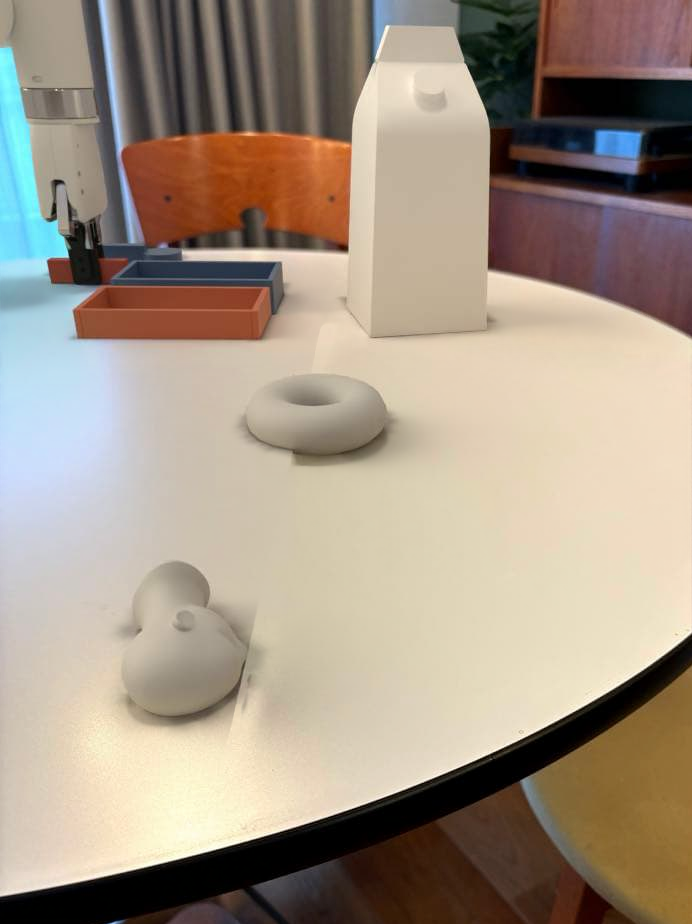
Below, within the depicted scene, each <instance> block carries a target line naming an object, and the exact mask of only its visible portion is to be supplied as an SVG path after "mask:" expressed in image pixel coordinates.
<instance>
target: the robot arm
mask: <svg viewBox="0 0 692 924" xmlns="http://www.w3.org/2000/svg"><path fill="white" fill-rule="evenodd" d="M6 48H10V49H11V51H12V52H11V53H12V57H13V61H14V67H15V72H16V77H17V82H18V87H19V92H20V97H21V103H22V108H23V112H24V113H23V114H24V117H25V118H24V119H25V123H26V124H29V138H30V139H29V141H30V151H31V161H32V168H33V174H34V181H35V182H34V183H35V189H36V195H37V196H36V197H37V202H38V208H39V212H40V217H41V219H42V220H43V221H45V222H46V223H53V222H55V221H57V232H58V235H60V236H61V237H63V238H64V243H65V248H66V250H67V255H68V258H69V261H70V266H71V271H72V277H73V282H74V283H73V284H74V285H88V286H89V285H91V286H95V285H96V286H97V285H101V284H103V283H102V277H101V271H100V265H99V259H98V258H105V255H104V249H103V244H102V243H103V233H102V228H101V219H102V214H103V213H104V212H105V211H106V210H107V208H108V194H107V186H106V180H105V174H104V169H103V163H102V159H101V153H100V149H99V144H98V139H97V135H96V131H95V127H94V124H98V123H101V121H100V116H99V109H98V104H97V103H98V102H97V96H96V90H95V85H94V84H95V83H94V77H93V70H92V63H91V59H90V52H89V45H88V39H87V33H86V25H85V19H84V13H83V7H82V0H0V49H6Z"/></svg>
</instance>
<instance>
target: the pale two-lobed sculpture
mask: <svg viewBox="0 0 692 924" xmlns="http://www.w3.org/2000/svg"><path fill="white" fill-rule="evenodd" d="M210 598H211V588H210V583H209V581H208V580H207V578H206V577H205V575H204V574H203V573H202V572H201V571H200V570H199V569H198V568H196V567H195V566H194V565H192V564H191V563H187V562H186V561H182V560H178V559H169V560H165V561H163V562H162V563H159V564H158V565H156V566H155V567H153V568H152V569H150V571H149V572H148V573H147V574H146V575H145V576H144V578H143V579H142V580H141V582H140V583H139V584H138V586H137V588H136V590H135V592H134V594H133V598H132V603H131V608H132V614H133V615H132V616H133V618H134V621H135V624H136V626H137V627H138V629H139V630H140V632H139V633H137V634H136V636H134V638H133V639H132V641H131V642H130V643H129V644H128V646H127V648H126V649H125V651H124V654H123V656H122V659H121V665H120V666H121V667H120V674H121V680H122V683H123V686H124V689H125V690H126V692H127V694H128V696H129V697H130V698H131V700H132V701H133V702H134V703H135V704H136V705H137V706H139V707H140V708H142V709H143V710H145V711H147V712H149V713H151V714H154V715H157V716H161V717H179V716H186V715H191V714H194V713H199V712H201V711H203V710H206V709H208V708H209V707H212V706H213V705H215V704H217V703H219V702H220V701H222V700H223V699H224V698H226V696H228V695H229V694H230V693H231V692H232V691H233V690H234V689H235V687H236V686H237V684H238V682H239V680H240V678H241V674H242V667H243V665H244V663H245V661H246V660H247V658H248V649H247V647H246V645H245V644H244V643H243V642H242V641H241V640H240V639H239V638H238V637H237V635H236V633H235V632H234V631H233V629H232V628H231V627H230V625H229V623H228V621H227V620H226V619H225V618H224V617H223V616H221V615H220V614H218V613H217V612H216V611H214V610H212V609H210V608H207V605H208V604H209V602H210Z"/></svg>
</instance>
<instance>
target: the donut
mask: <svg viewBox="0 0 692 924" xmlns="http://www.w3.org/2000/svg"><path fill="white" fill-rule="evenodd" d="M387 414H388V409H387V405H386V403H385V400H384V398H383V397H382V395H381V394H380V392H379V391H378V390H377V389H376V388H375V387H373V386H372V385H371V384H368V383H367V382H365V381H363V380H360V379H358V378H355V377H350V376H347V375H341V374H334V373H303V374H295V375H290V376H285V377H281V378H279V379H275V380H273V381H270V382H267V383H266V384H264V385H262V386H261V387H259V388H257V390H256V391H255V392H254V393H253V394H252V396H251V397H250V399H249V400H248V402H247V404H246V406H245V418H246V422H247V427H248V430H249V431H250V433H251V434H253V435H254V436H255V438H257V439H258V440H259V441H260V442H261V441H262V442H264V443H266V444H269V445H272V446H274V447H278V448H283V449H289V450H292V455H299V456H328V455H336V454H341V453H344V452H349V451H354V450H356V449H358V448H361V447H363V446H365V445H368V444H369V443H370V442H371V441H373V439H374V438H376V437H377V436H378V435H379V434H380V433H381V432H382V430H383V428H384V426H385V423H386V419H387Z"/></svg>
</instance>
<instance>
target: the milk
mask: <svg viewBox="0 0 692 924" xmlns="http://www.w3.org/2000/svg"><path fill="white" fill-rule="evenodd" d="M351 126H352V128H351V154H350V156H351V157H350V158H351V160H350V190H349V193H350V194H349V221H348V222H349V224H348V250H347V251H348V253H347V283H346V284H347V285H346V286H347V288H346V308H347V310H348V311H349V312H350V314H351V315H352V316H353V317H354V319H355V320H356V321H357V322H358V324H359V325H360V326H361V328H362V329H363V330H364V331H365V333H366V334H367V335H368V337H369V338H384V337H399V336H413V335H414V336H416V335H429V334H431V335H433V334H447V333H448V334H449V333H461V332H476V331H477V332H478V331H487V327H488V324H487V323H488V278H489V277H488V276H489V275H488V274H489V271H488V270H489V267H488V266H489V216H490V215H489V214H490V167H491V166H490V165H491V164H490V158H491V156H490V155H491V128H490V122H489V117H488V115H487V111H486V108H485V106H484V103H483V101H482V99H481V96H480V94H479V91H478V89H477V86H476V84H475V82H474V79H473V77H472V75H471V73H470V71H469V69H468V66H467V64H466V63H465V58H464V54H463V52H462V49H461V46H460V43H459V40H458V37H457V34H456V30H455V27H454V26H438V25H437V26H435V25H399V24H398V25H397V24H396V25H395V24H389V25H388V24H387V25H385V28H384V31H383V33H382V37H381V38H380V42H379V46H378V49H377V51H376V54H375V57H374V62H373V63H372V65H371V68H370V69H369V72H368V74H367V78H366V80H365V83H364V84H363V88H362V90H361V93H360V95H359V97H358V100H357V103H356V105H355V109H354V113H353V119H352V125H351Z"/></svg>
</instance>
